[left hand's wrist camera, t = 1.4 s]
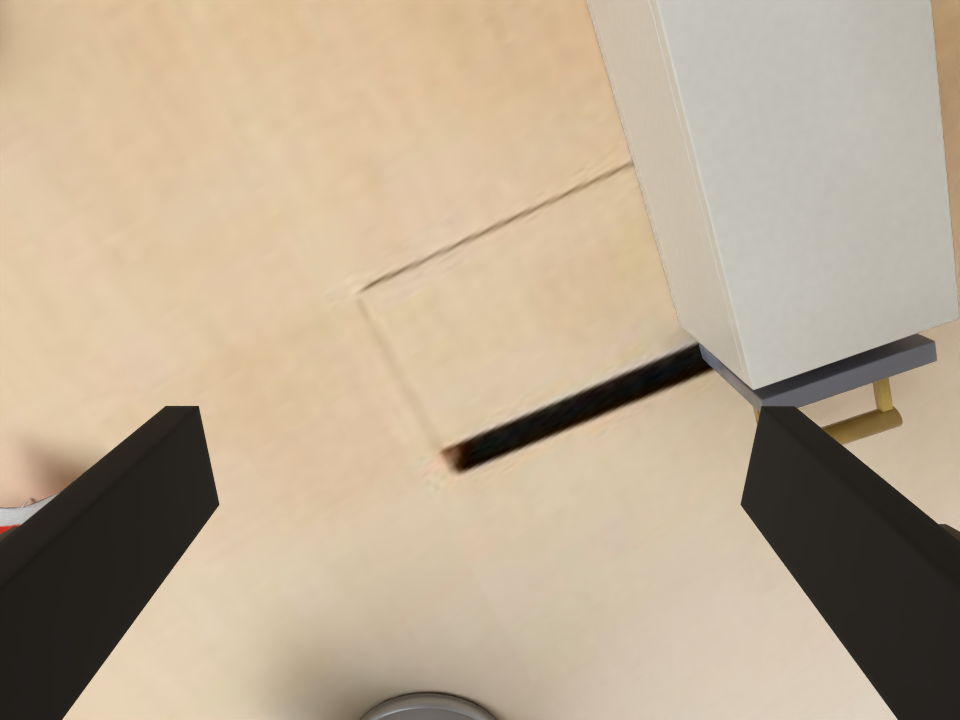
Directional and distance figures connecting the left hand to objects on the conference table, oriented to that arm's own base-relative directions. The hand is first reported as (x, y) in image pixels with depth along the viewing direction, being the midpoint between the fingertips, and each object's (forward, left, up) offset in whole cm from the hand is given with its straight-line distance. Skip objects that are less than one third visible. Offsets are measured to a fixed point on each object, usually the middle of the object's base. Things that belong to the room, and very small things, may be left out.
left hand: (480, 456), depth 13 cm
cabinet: (+10, -13, -24) cm, 29 cm away
